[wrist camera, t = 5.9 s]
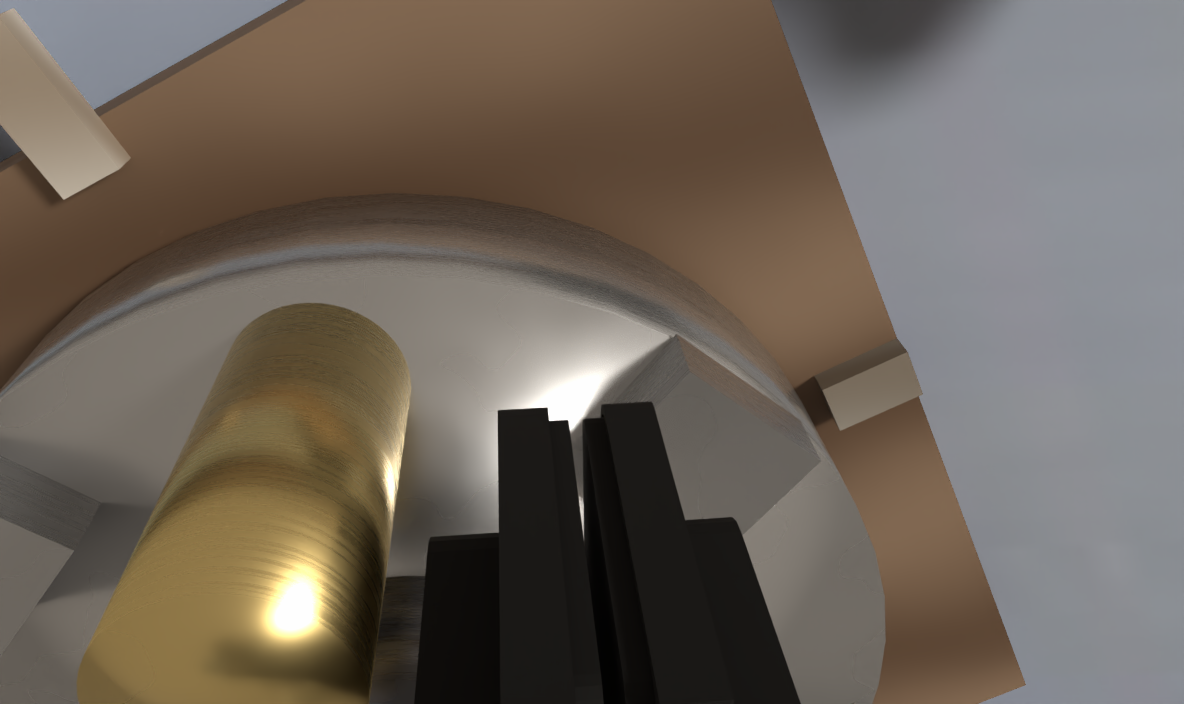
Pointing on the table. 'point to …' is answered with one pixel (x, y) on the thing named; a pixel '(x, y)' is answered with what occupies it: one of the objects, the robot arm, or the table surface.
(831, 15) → the table surface
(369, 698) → the lugged metal disc
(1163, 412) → the table surface
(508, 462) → the robot arm
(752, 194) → the wooden board
